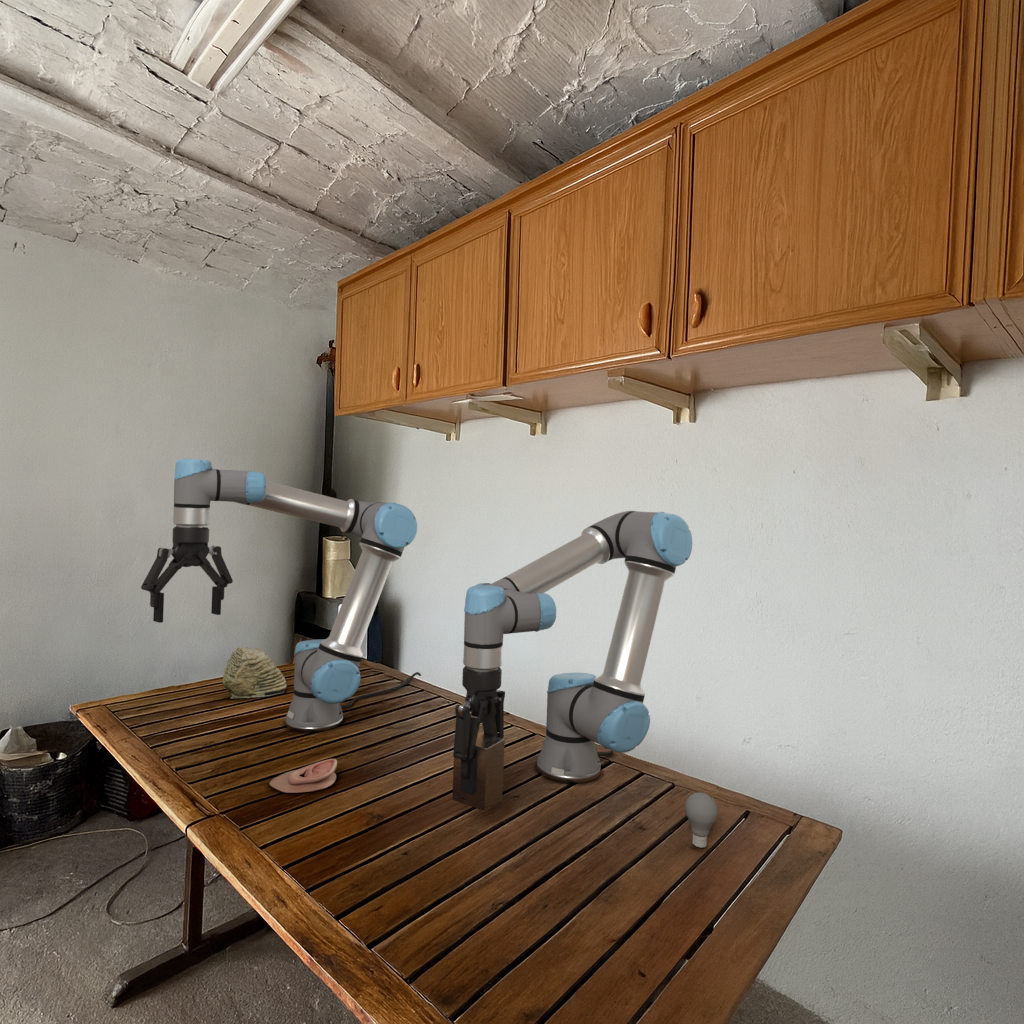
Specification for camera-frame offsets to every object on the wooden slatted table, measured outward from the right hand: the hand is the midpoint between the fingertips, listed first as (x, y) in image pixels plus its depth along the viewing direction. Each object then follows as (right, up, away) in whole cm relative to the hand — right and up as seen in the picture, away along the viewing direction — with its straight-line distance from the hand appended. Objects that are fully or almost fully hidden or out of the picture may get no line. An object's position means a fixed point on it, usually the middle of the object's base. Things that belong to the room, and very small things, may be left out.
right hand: (478, 785), depth 122 cm
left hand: (-68, +28, +24) cm, 78 cm away
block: (0, -3, 0) cm, 3 cm away
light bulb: (+42, -11, -2) cm, 44 cm away
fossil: (-74, -4, +76) cm, 106 cm away
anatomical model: (-40, -7, +17) cm, 44 cm away
